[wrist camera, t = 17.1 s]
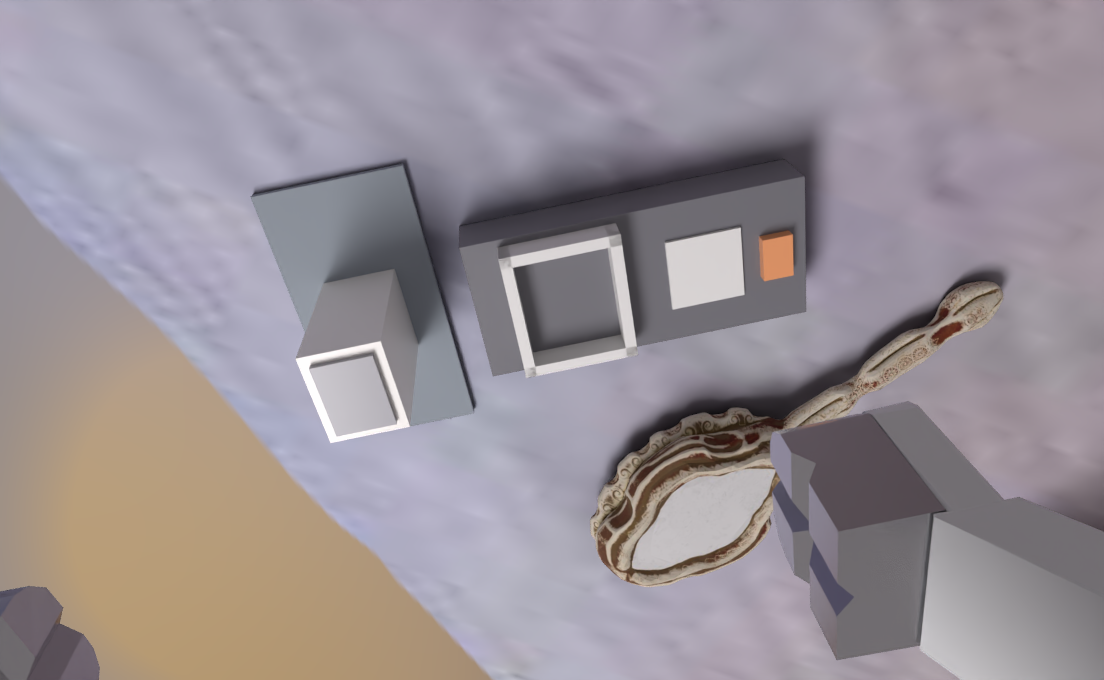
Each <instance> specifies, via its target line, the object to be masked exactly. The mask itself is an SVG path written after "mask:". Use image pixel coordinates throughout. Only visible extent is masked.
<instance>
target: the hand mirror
mask: <svg viewBox="0 0 1104 680" xmlns="http://www.w3.org/2000/svg"><path fill="white" fill-rule="evenodd" d="M1002 300H1003V292H1002V290H1001V288H1000V287H999V286H998V285H997V284H996V283H993V282H990V281H978V282H972V283H967V284H964V285H962V286H959V287H958V288H956V289H955V290H953V291H951V292H950V293H949V294H948V295H947V296H946V297H945V299H944V300H943V301H942V302H941V303H940V305H939V308H938V310H937V313H936V315H935V317H934V318H933V320H932V321H931V322H930V323H929V324H928V325H927V326H925V327H923V328H918V329H912V330H909V331H907V332H904V333H902V334H900V335H899V336H898V337H896V338H895V339H894V340H892V341H891V342H890V343H888V344H887V345H886V346H884V347H883V348H882V349H880V350H879V351H878V352H877V353H875V354H874V355H873V356H872V357H871V358H869V359H868V360H867V361H866V362H865V363H864V364H863V365H862V367H861V369H860V371H859V372H858V374H857V375H855V376H854V377H853V378H851V379H850V380H848V381H846V382H844V383H842V384H840V385H836V386H833V387H830V388H828V389H827V390H825V391H823V392H822V393H820V394H819V395H817V396H816V397H814V398H812V399H811V400H809V401H808V402H806V403H804V404H803V405H801V406H800V407H798V408H796V409H795V410H793V411H792V412H791V413H790V414H789V415H787V416H786V417H785V418H784V419H781V420H777V419H773V418H771V417H768V416H766V417H757V416H753V415H752V414H751V413H750V412H749V411H748V409H745V408H730V409H728V410H727V411H726V412H725V413H722V414H715V415H710V414H708V413H705V412H703V413H699V414H695V415H691V416H688V417H686V418H684V419H682V420H681V421H680V422H679V423H678V424H677V425H676V426H675V427H673V428H670V429H668V430H664V431H659V432H657V433H655V434H653V435H652V436H651V437H650V440H649V442H648V444H647V445H646V446H645V447H643V448H642V449H641V450H639V451H636V452H631V453H629V454H628V455H627V456H626V457H625V458H624V459H623V460H622V461H621V462H620V463H619V464H618V468H617V474H616V476H615V477H614V479H613V480H611V481H610V482H608V483H606V484H605V485H604V487H603V489H602V490H601V492H600V494H599V496H598V508H597V511H596V513H595V514H594V515H593V516H592V517H591V519H590V528H591V535H592V536H593V538H594V539H595V540H596V549H597V552H598V555H599V557H600V559H601V560H602V562H603V563H604V564H605V565H606V566H607V567H608V568H609V569H610V570H611V571H612V572H613V573H614V574H615V575H617V576H618V577H619V578H621V579H622V580H624V581H627V582H629V583H632V584H635V585H639V586H643V587H655V586H664V585H670V584H673V583H675V582H677V581H679V580H682V579H685V578H688V577H692V576H701V575H704V574H707V573H710V572H712V571H715V570H718V569H720V568H722V567H725V566H727V565H729V564H732V563H734V562H736V561H738V560H739V559H741V558H743V557H744V556H746V555H747V554H749V553H750V552H751V551H752V550H753V549H754V548H755V547H756V546H758V545H759V543H760V542H761V541H762V540H763V539H764V538H765V537H766V535H767V533H768V531H769V529H770V526H771V520H770V515H771V513H772V511H773V498H772V491H773V489H774V488H775V487H776V485H777V484H778V482H779V481H780V478H779V476H778V474H777V472H776V470H775V468H774V466H773V465H772V463H771V458H770V441H771V436H772V432H775V431H780V430H784V429H789V428H794V427H799V426H803V425H808V424H813V423H817V422H822V421H827V420H831V419H836V418H841V417H844V416H846V415H847V414H848V413H849V412H850V411H851V410H852V408H853V407H854V406H855V404H856V403H857V401H858V400H859V399H860V398H861V397H862V396H863V395H865V394H867V393H869V392H873V391H877V390H880V389H882V388H883V387H885V386H886V385H888V384H889V383H891V382H892V381H894V380H895V379H897V378H898V377H900V376H901V375H903V374H904V373H906V372H908V371H909V370H911V369H912V368H914V367H916V366H917V365H919V364H920V363H922V362H924V361H925V360H926V359H927V358H928V357H930V356H931V355H932V354H933V353H934V352H936V351H937V350H938V349H939V348H940V347H941V346H942V345H943V344H944V343H945V342H946V341H948V340H949V339H951V338H952V337H954V336H957V335H959V334H961V333H964V332H968V331H971V330H974V329H978V328H981V327H983V326H984V325H986V324H987V323H988V322H989V321H990V320H991V318H992V317H993V316H994V314H995V313H996V312H997V310H998V308H999V306H1000V304H1001V302H1002Z"/></svg>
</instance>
